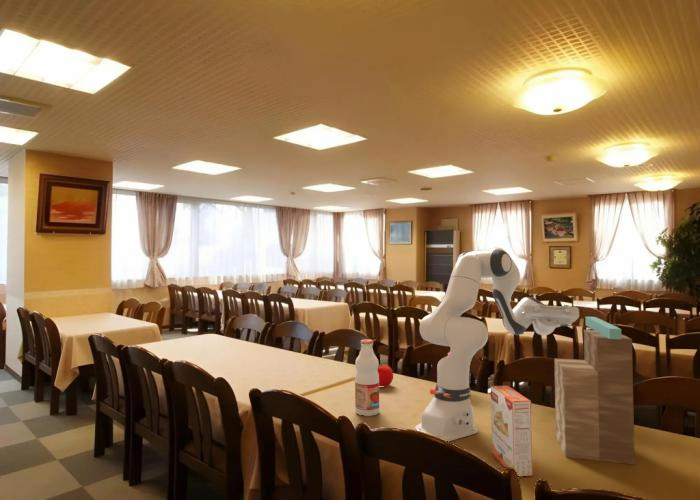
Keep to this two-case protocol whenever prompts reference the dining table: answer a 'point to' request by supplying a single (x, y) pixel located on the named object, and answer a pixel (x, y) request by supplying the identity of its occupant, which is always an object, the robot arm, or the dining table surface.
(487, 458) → the dining table surface
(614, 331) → the teal bar
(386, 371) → the tomato
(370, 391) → the fruit juice
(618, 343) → the step stand
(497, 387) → the cracker box
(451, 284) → the robot arm
